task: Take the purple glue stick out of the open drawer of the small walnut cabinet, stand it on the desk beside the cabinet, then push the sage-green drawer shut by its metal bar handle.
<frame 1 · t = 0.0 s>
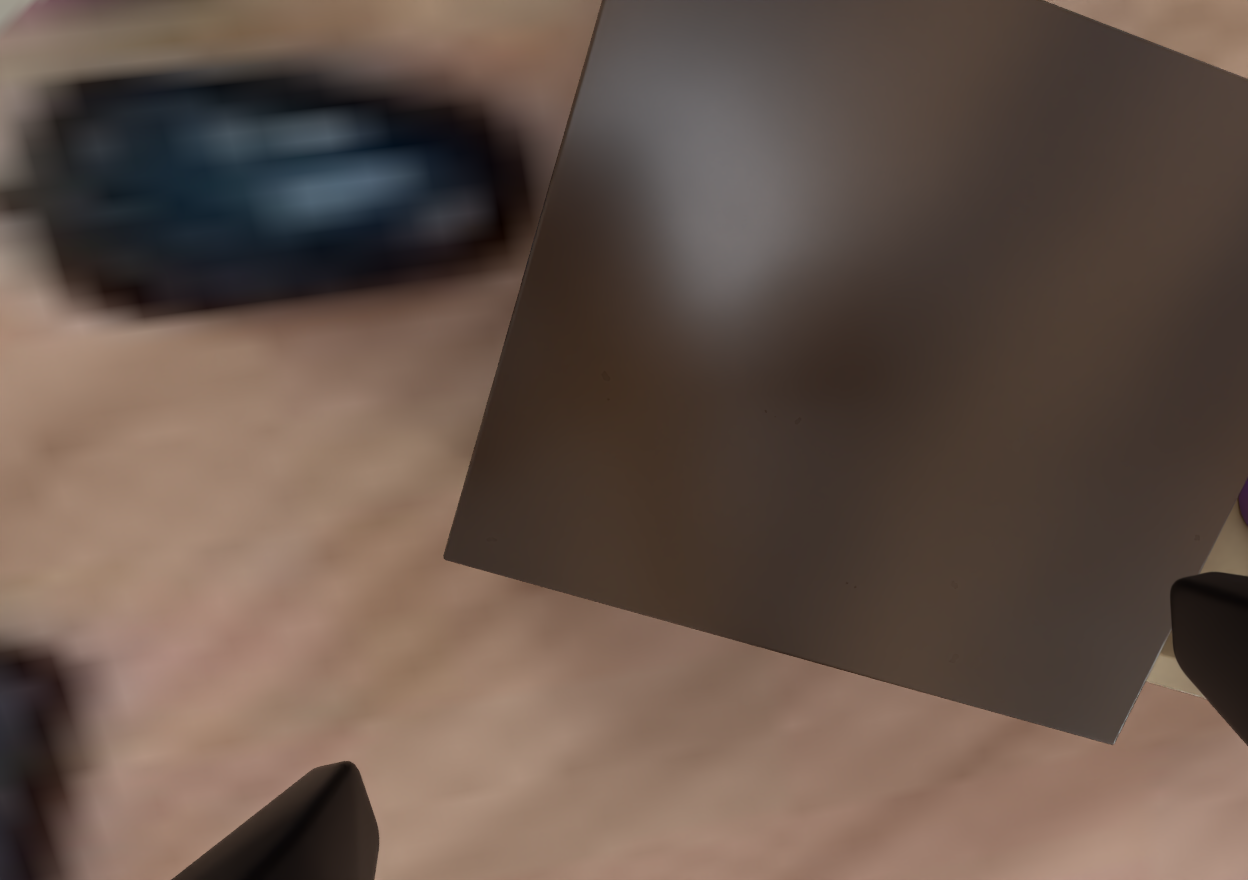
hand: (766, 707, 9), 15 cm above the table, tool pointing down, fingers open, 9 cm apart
cabinet: (821, 327, 23), on the table
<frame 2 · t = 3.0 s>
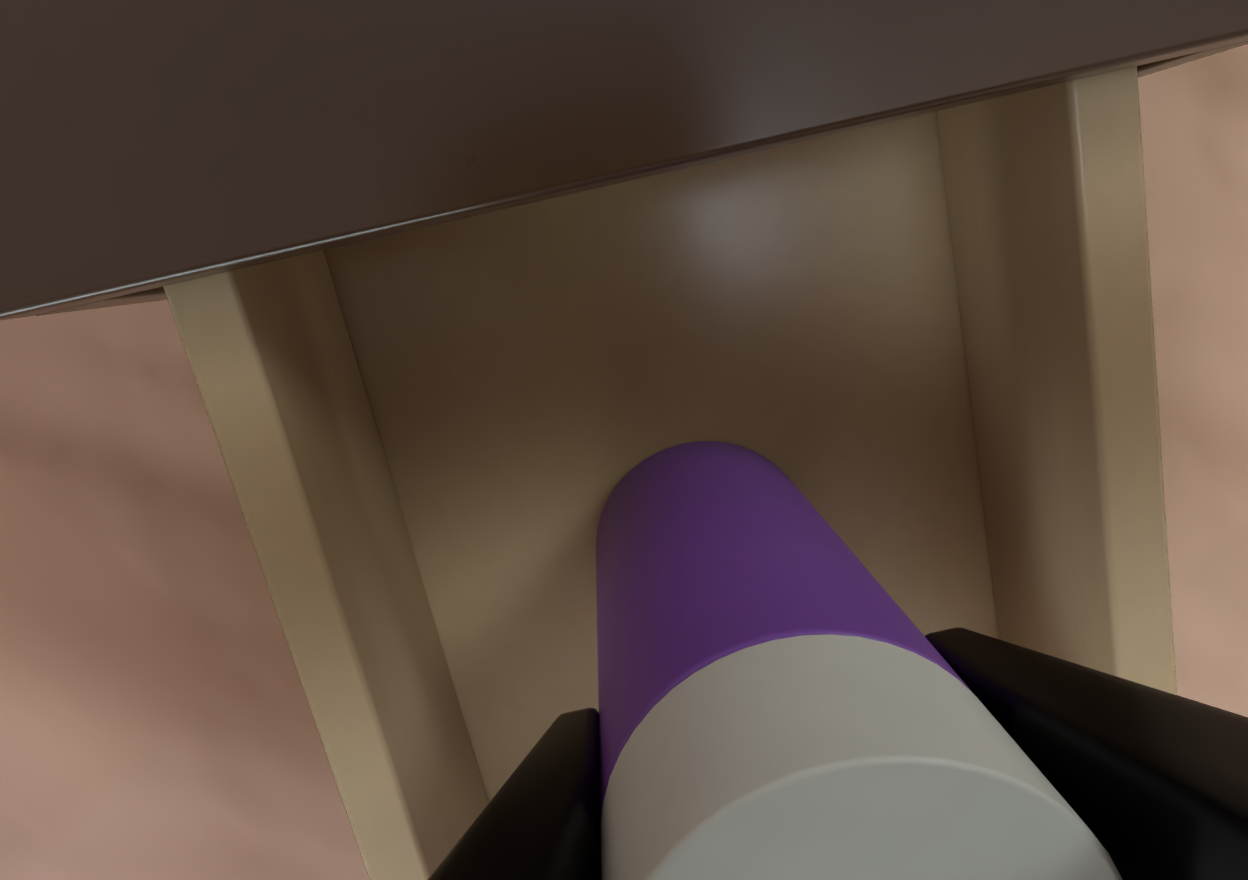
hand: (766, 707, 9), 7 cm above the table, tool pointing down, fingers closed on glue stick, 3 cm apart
drawer: (732, 657, 13), point 3 cm above the table, slide at 11.0 cm, touching glue stick
glue stick: (703, 544, 14), point 2 cm above the table, touching drawer, gripper
when the fingers open (5 cm above the table, at t = 8.6 s): glue stick stays where it is, on the table.
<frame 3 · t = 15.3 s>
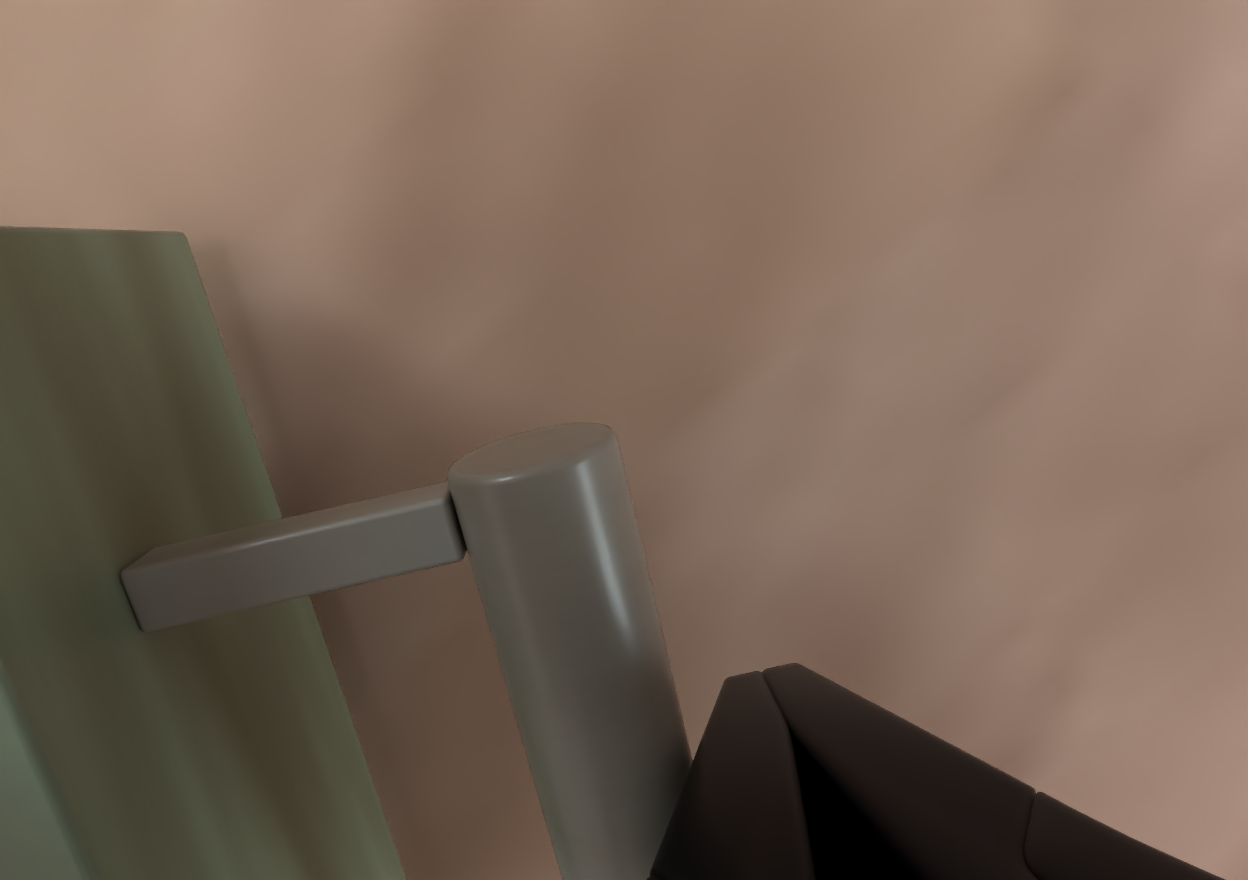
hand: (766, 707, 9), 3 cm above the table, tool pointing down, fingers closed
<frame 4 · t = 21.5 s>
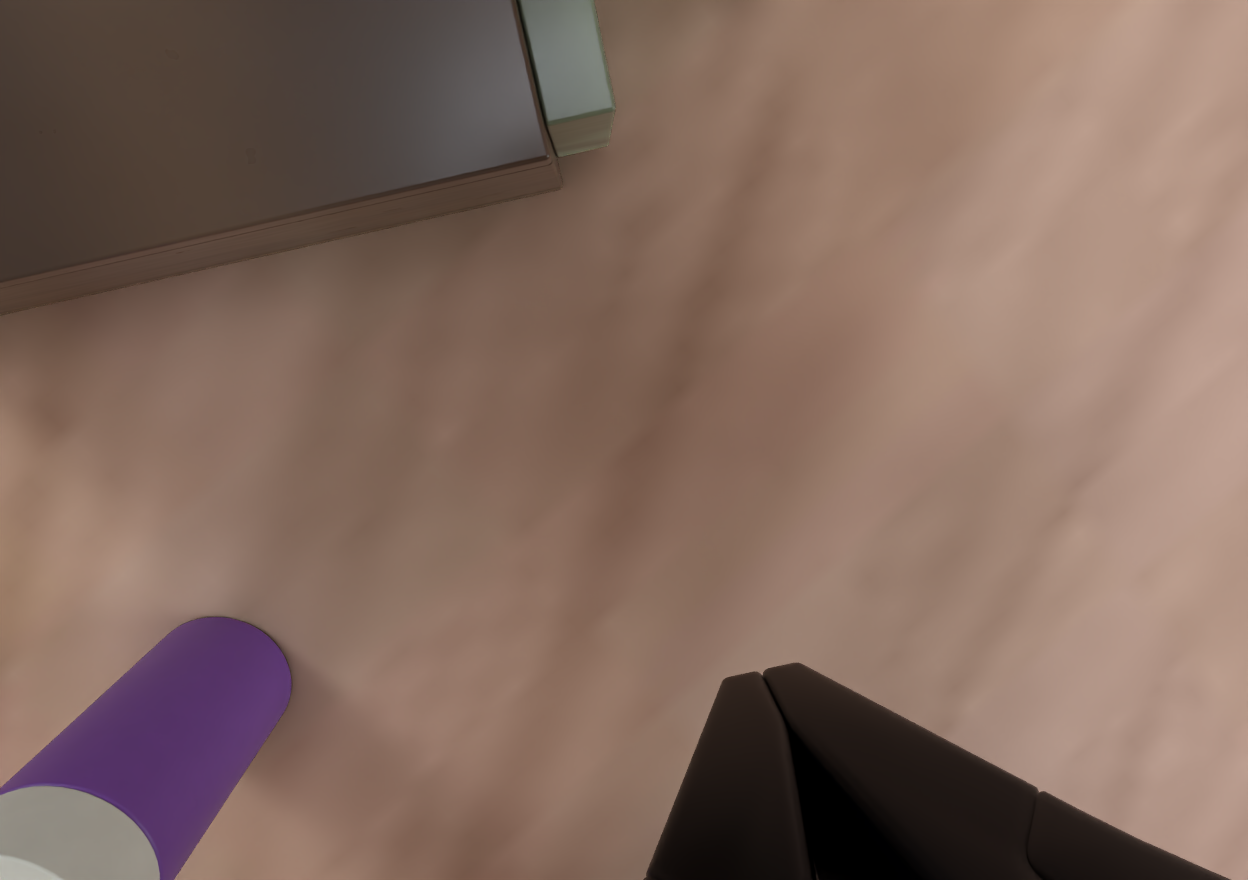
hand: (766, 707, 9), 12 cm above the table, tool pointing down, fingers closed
glue stick: (222, 678, 21), on the table
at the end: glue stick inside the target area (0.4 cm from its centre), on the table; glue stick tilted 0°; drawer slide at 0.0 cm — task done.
